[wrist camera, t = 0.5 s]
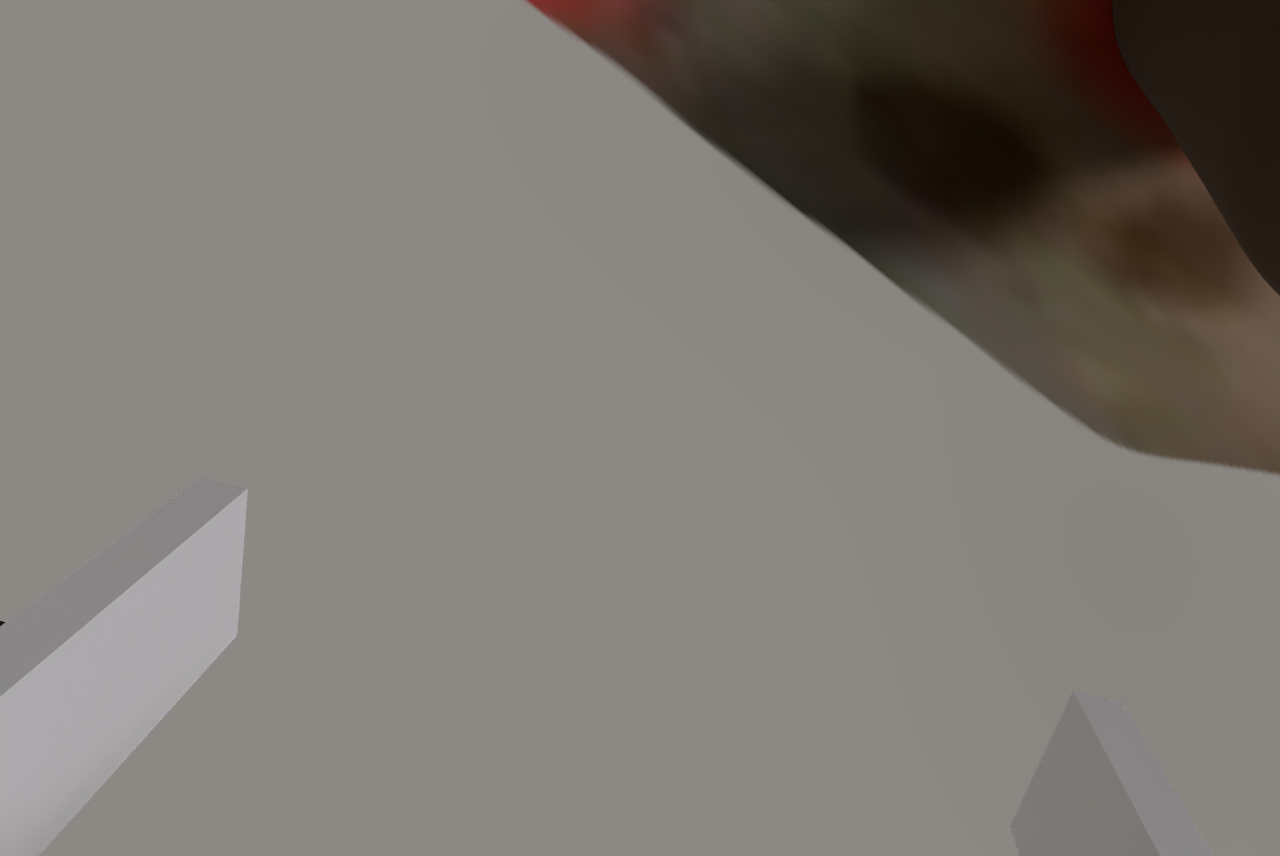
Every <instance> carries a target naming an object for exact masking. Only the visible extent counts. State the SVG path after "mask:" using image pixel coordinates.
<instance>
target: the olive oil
mask: <svg viewBox="0 0 1280 856" xmlns="http://www.w3.org/2000/svg"><path fill="white" fill-rule="evenodd" d="M1113 24H1114V31H1115V36H1116V40H1117V44H1118V47H1119V50H1120V53H1121V56H1122V58H1123V60H1124V62H1125V64H1126V66H1127V68H1128V70H1129V72H1130V73H1131V75H1132V77H1133V78H1134V80H1135V81H1136V83H1137V84H1138V85H1139V87H1140V88H1141V90H1142V91H1143V92H1144V94H1145V95H1146V97H1147V98H1148V99H1149V101H1150V102H1151V103H1152V105H1153V106H1154V108H1155V109H1156V110H1157V112H1158V113H1159V114H1160V116H1161V117H1162V119H1163V120H1164V122H1165V123H1166V125H1167V126H1168V128H1169V129H1170V131H1171V133H1172V134H1173V136H1174V137H1175V139H1176V141H1177V142H1178V144H1179V145H1180V147H1181V148H1182V150H1183V152H1184V153H1185V155H1186V156H1187V158H1188V159H1189V161H1190V163H1191V164H1192V166H1193V167H1194V169H1195V171H1196V172H1197V174H1198V175H1199V177H1200V179H1201V180H1202V182H1203V184H1204V185H1205V187H1206V189H1207V190H1208V192H1209V194H1210V195H1211V197H1212V199H1213V200H1214V202H1215V204H1216V205H1217V207H1218V209H1219V211H1220V212H1221V214H1222V216H1223V217H1224V219H1225V221H1226V222H1227V224H1228V226H1229V227H1230V229H1231V231H1232V232H1233V234H1234V236H1235V237H1236V239H1237V241H1238V242H1239V244H1240V246H1241V247H1242V249H1243V251H1244V252H1245V254H1246V255H1247V257H1248V258H1249V260H1250V261H1251V263H1252V264H1253V265H1254V267H1255V268H1256V269H1257V271H1258V272H1259V273H1260V274H1261V276H1262V277H1263V278H1264V279H1265V281H1266V282H1267V283H1268V284H1269V285H1270V286H1271V287H1272V288H1273V289H1274V290H1275V291H1276V292H1277V293H1278V294H1279V295H1280V0H1113Z"/></svg>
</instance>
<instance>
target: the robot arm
mask: <svg viewBox="0 0 1280 856" xmlns="http://www.w3.org/2000/svg"><path fill="white" fill-rule="evenodd" d="M247 491H248V488H243V487H240V486H236V485H232V484H228V483H223V482H219V481H215V480H211V479H207V478H203V477H200V478H198V479H197V480H196V481H194V482H193V483H192V484H190V485H189V486H188V487H186V488H185V489H184V490H182V491H181V492H180V493H178V494H177V495H176V496H174V497H173V498H172V499H170V500H169V501H168V502H166V503H165V504H164V505H162V506H161V507H159V508H158V509H157V510H155V511H154V512H153V513H152V514H150V515H149V516H147V517H146V518H145V519H143V520H142V521H141V522H139V523H138V524H137V525H135V526H134V527H133V528H131V529H130V530H129V531H127V532H126V533H125V534H123V535H122V536H121V537H119V538H118V539H117V540H115V541H114V542H113V543H111V544H110V545H109V546H107V547H106V548H105V549H103V550H102V551H101V552H99V553H98V554H97V555H95V556H94V557H93V558H91V559H90V560H89V561H87V562H86V563H85V564H83V565H82V566H80V567H79V568H78V569H77V570H75V571H74V572H73V573H71V574H70V575H68V576H67V577H66V578H65V579H63V580H62V581H60V582H59V583H58V584H57V585H55V586H54V587H52V588H51V589H50V590H49V591H47V592H46V593H44V594H43V595H42V596H40V597H39V598H38V599H36V600H35V601H34V602H32V603H31V604H30V605H28V606H27V607H26V608H24V609H23V610H22V611H20V612H19V613H18V614H16V615H15V616H14V617H12V618H11V619H10V620H8V621H7V622H2V621H0V856H39V855H40V854H41V853H42V851H43V850H44V849H45V848H46V847H47V846H48V845H49V843H51V841H52V840H53V839H54V838H55V837H56V836H57V835H58V834H59V833H60V831H61V830H62V829H63V828H64V827H65V826H66V825H67V824H68V823H69V821H70V820H71V819H72V818H73V817H74V816H75V815H76V814H77V813H78V811H79V810H80V809H81V808H82V807H83V806H84V805H85V804H86V802H87V801H88V800H89V799H90V798H91V797H92V796H93V795H94V794H95V793H96V791H97V790H98V789H99V788H100V787H101V786H102V785H103V784H104V783H105V781H106V780H107V779H108V778H109V777H110V776H111V775H112V774H113V772H114V771H115V770H116V769H117V768H118V767H119V766H120V765H121V764H122V762H123V761H124V760H125V759H126V758H127V757H128V756H129V755H130V754H131V753H132V751H133V750H134V749H135V748H136V747H137V746H138V745H139V744H140V743H141V741H142V740H143V739H144V738H145V737H146V736H147V735H148V734H149V732H150V731H151V730H152V729H153V728H154V727H155V726H156V725H157V724H158V723H159V721H160V720H161V719H162V718H163V717H164V716H165V715H166V714H167V713H168V711H169V710H170V709H171V708H172V707H173V706H174V705H175V704H176V703H177V701H178V700H179V699H180V698H181V697H182V696H183V695H184V693H185V692H186V691H187V690H188V689H189V688H190V687H191V686H192V685H193V683H194V682H195V681H196V680H197V679H198V678H199V677H200V676H201V675H202V674H203V672H204V671H205V670H206V669H207V668H208V667H209V666H210V665H211V664H212V663H213V661H214V660H215V659H216V658H217V657H218V656H219V655H220V654H221V653H222V651H223V650H224V649H225V648H226V647H227V646H228V645H229V643H230V642H231V641H232V640H233V639H234V638H235V637H236V636H237V631H238V617H239V602H240V589H241V574H242V561H243V546H244V532H245V519H246V505H247ZM1010 828H1011V831H1012V834H1013V837H1014V839H1015V842H1016V845H1017V848H1018V851H1019V854H1020V856H1213V855H1212V853H1211V851H1210V850H1209V848H1208V846H1207V845H1206V843H1205V841H1204V840H1203V838H1202V836H1201V834H1200V833H1199V831H1198V829H1197V828H1196V826H1195V824H1194V823H1193V821H1192V819H1191V818H1190V816H1189V814H1188V812H1187V811H1186V809H1185V808H1184V806H1183V804H1182V803H1181V801H1180V799H1179V797H1178V796H1177V794H1176V793H1175V791H1174V789H1173V787H1172V786H1171V784H1170V782H1169V780H1168V779H1167V777H1166V775H1165V774H1164V772H1163V770H1162V769H1161V767H1160V765H1159V763H1158V762H1157V760H1156V758H1155V757H1154V755H1153V754H1152V752H1151V750H1150V748H1149V747H1148V745H1147V743H1146V742H1145V740H1144V738H1143V737H1142V735H1141V733H1140V731H1139V730H1138V728H1137V726H1136V725H1135V723H1134V721H1133V720H1132V718H1131V716H1130V715H1129V713H1128V711H1127V710H1126V708H1125V706H1124V704H1123V703H1122V702H1119V701H1115V700H1111V699H1107V698H1103V697H1099V696H1095V695H1091V694H1087V693H1083V692H1079V691H1074V690H1073V691H1072V694H1071V696H1070V698H1069V700H1068V702H1067V704H1066V706H1065V709H1064V711H1063V713H1062V715H1061V717H1060V720H1059V722H1058V724H1057V726H1056V728H1055V730H1054V733H1053V735H1052V737H1051V739H1050V741H1049V744H1048V745H1047V748H1046V750H1045V752H1044V754H1043V756H1042V758H1041V761H1040V763H1039V765H1038V767H1037V769H1036V771H1035V773H1034V776H1033V778H1032V780H1031V782H1030V784H1029V786H1028V789H1027V791H1026V793H1025V795H1024V797H1023V799H1022V802H1021V804H1020V806H1019V808H1018V810H1017V812H1016V814H1015V817H1014V819H1013V821H1012V823H1011V825H1010Z"/></svg>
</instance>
